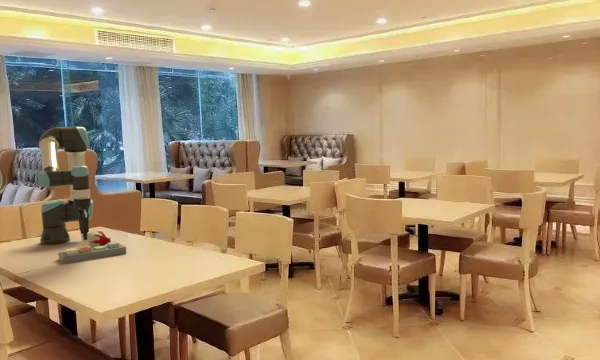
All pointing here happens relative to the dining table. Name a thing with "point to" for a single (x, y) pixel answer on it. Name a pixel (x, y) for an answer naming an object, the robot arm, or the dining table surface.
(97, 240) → the candle
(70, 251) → the key ivory
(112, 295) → the dining table surface
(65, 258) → the keypad
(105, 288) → the dining table surface
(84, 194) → the robot arm
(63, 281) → the dining table surface
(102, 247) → the key sage
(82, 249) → the key terracotta
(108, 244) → the key greyblue
